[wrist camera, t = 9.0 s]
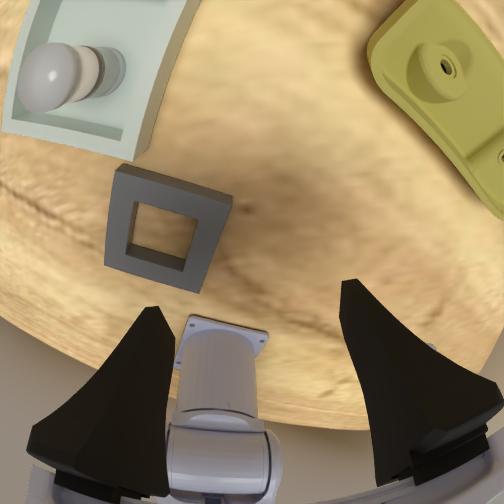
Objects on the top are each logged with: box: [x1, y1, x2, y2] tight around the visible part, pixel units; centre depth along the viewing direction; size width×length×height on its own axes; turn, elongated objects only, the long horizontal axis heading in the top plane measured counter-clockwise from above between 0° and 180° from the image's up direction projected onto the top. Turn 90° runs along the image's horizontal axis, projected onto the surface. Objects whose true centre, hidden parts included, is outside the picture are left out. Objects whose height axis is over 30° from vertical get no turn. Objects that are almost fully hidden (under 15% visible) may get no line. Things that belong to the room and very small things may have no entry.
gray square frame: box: [104, 164, 233, 294], centre depth 20 cm, size 8×8×2 cm
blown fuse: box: [17, 42, 126, 114], centre depth 11 cm, size 3×3×6 cm
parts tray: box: [1, 0, 201, 162], centre depth 12 cm, size 11×11×3 cm
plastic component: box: [367, 0, 504, 221], centre depth 13 cm, size 20×7×10 cm
